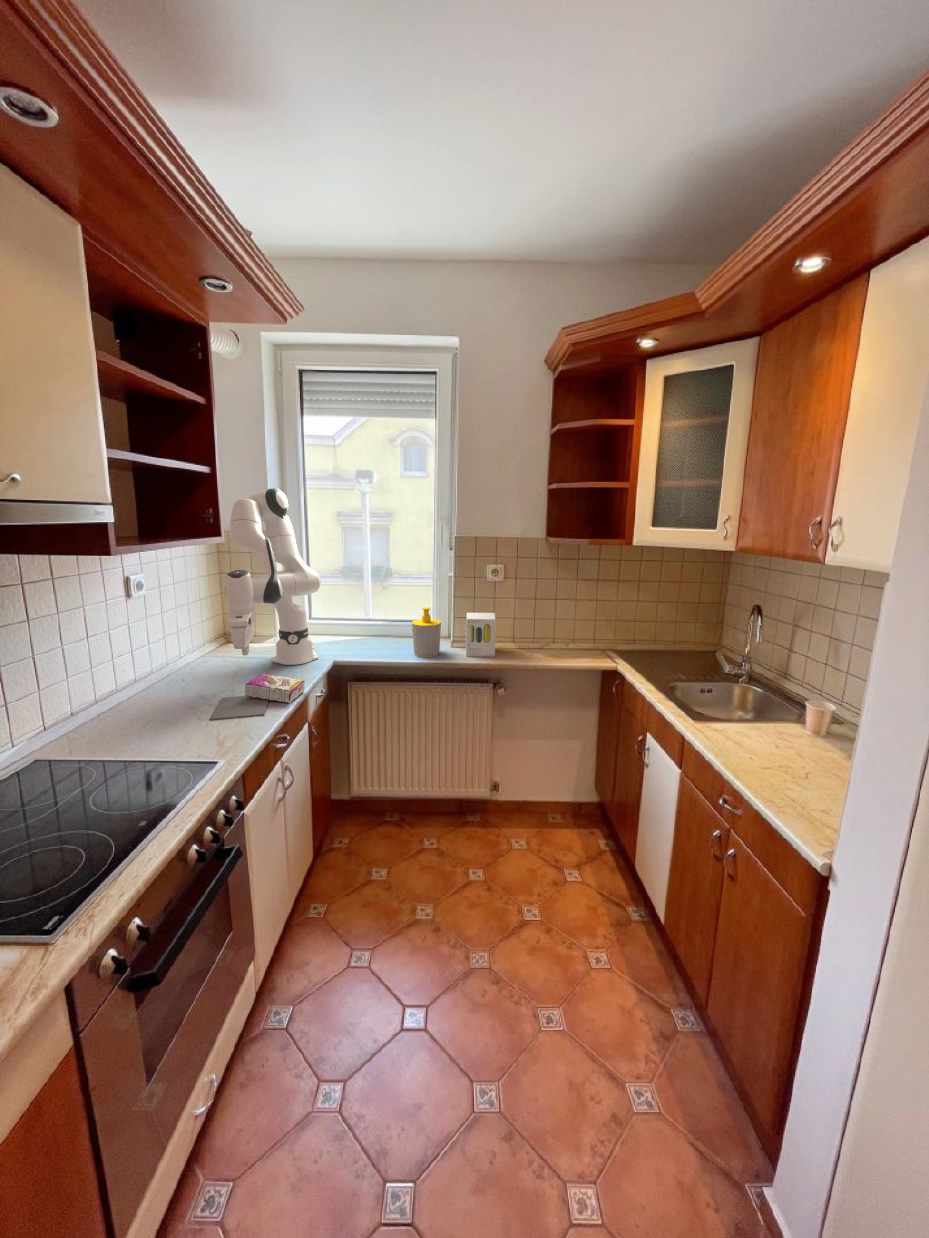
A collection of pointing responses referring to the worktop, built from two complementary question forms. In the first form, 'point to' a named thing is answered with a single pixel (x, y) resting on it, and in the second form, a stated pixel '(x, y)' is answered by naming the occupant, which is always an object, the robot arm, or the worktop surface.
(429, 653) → the soap bottle
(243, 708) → the mat
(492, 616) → the supplement box
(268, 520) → the robot arm
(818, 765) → the worktop surface
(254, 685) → the candy bar box
